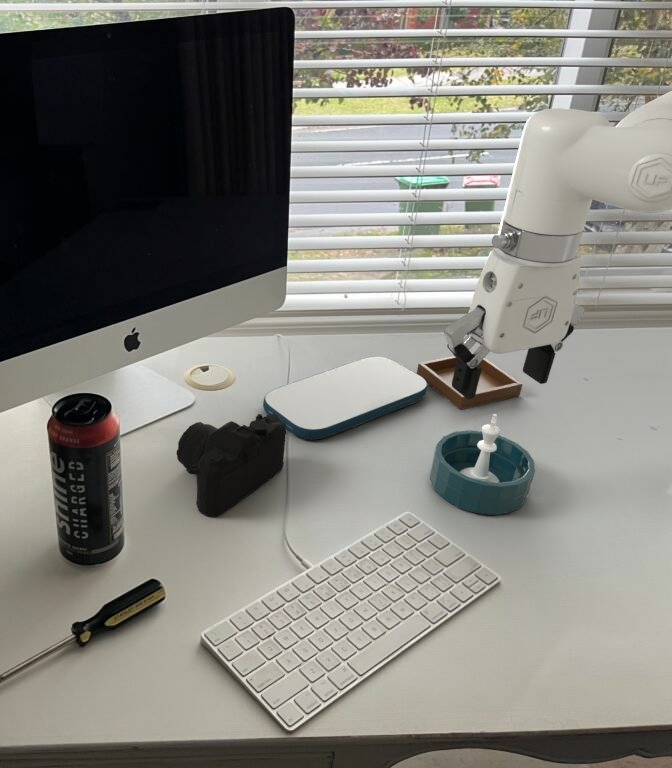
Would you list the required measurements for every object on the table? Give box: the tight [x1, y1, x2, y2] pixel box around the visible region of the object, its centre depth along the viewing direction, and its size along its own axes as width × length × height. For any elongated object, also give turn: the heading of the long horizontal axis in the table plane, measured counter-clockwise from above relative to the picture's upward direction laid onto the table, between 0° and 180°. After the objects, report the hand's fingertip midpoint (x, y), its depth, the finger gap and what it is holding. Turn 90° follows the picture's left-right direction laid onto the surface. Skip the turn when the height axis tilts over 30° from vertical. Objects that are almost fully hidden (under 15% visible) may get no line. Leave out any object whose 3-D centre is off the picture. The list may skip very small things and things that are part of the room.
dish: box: [429, 429, 536, 516], centre depth 95 cm, size 11×11×4 cm
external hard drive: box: [262, 356, 429, 440], centre depth 112 cm, size 24×12×2 cm, turn 121°
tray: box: [416, 351, 524, 410], centre depth 115 cm, size 10×10×2 cm
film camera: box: [176, 413, 287, 518], centre depth 95 cm, size 15×10×9 cm, turn 135°
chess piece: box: [460, 413, 501, 483], centre depth 93 cm, size 5×5×10 cm
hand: (498, 385), depth 89 cm, fingers open, 9 cm apart
